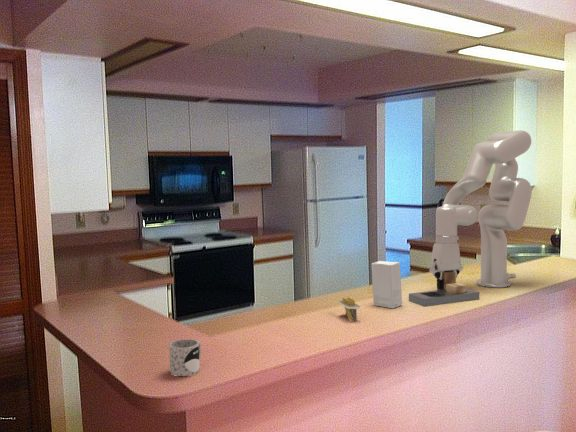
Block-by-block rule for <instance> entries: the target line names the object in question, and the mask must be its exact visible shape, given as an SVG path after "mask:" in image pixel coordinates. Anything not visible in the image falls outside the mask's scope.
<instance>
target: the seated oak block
mask: <svg viewBox="0 0 576 432" xmlns="http://www.w3.org/2000/svg"><path fill="white" fill-rule="evenodd" d="M465 288H466V284H462V283H459V282H456V283H452V284H446V292H449V293H452V294H459V293H465Z"/></svg>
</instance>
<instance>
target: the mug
mask: <svg viewBox="0 0 576 432" xmlns="http://www.w3.org/2000/svg"><path fill="white" fill-rule="evenodd" d="M168 346H169V347H168V349H169V370H170V371H169V372H171V374H173V375H177V376H189V377H191V376H190V375H193V376H195V375H194V374H196V373H197V374H199V373H200V369H201V368H200V367H201V366H200V359H201V355H202V347H201V341H200V340H198V339H197V340H196V339H192V338H191V339H190V338H185V339H182V338H181V339H177V340H174V341H171V342H169V345H168ZM198 372H199V373H198ZM171 374H170V375H171ZM197 374H196V375H197Z"/></svg>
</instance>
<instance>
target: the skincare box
mask: <svg viewBox="0 0 576 432" xmlns="http://www.w3.org/2000/svg"><path fill="white" fill-rule="evenodd" d="M401 277H402V275H401V262H399V261H386V260H385V261H384V260H378V261H374V262H372V263H371V281H372V283H371V284H372V286H371V287H372V302H373V306H378V307H383V308H388V309H395V308H398V307H402V305H403V299H402V296H403V295H402V281H401V280H402V278H401Z"/></svg>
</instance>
